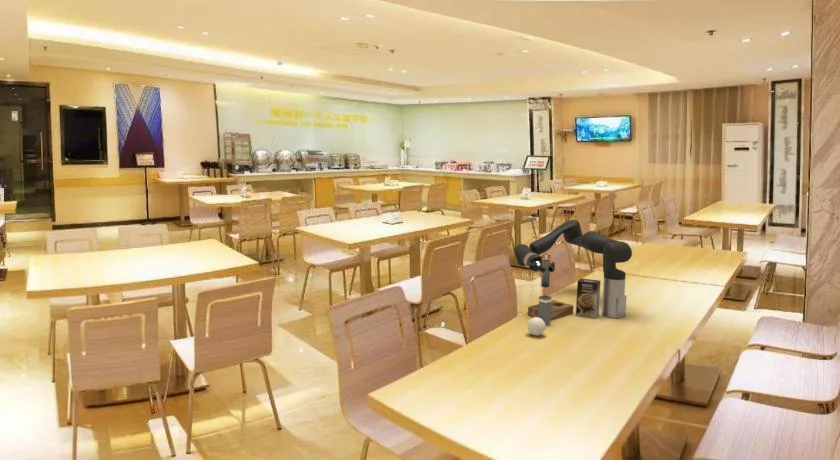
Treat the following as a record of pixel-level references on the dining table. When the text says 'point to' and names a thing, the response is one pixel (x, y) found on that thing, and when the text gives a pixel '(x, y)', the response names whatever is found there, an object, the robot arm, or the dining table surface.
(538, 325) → the seamed sphere
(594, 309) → the coffee box
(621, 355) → the dining table surface
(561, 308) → the block
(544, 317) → the square bit
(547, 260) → the cylinder
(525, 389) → the dining table surface
